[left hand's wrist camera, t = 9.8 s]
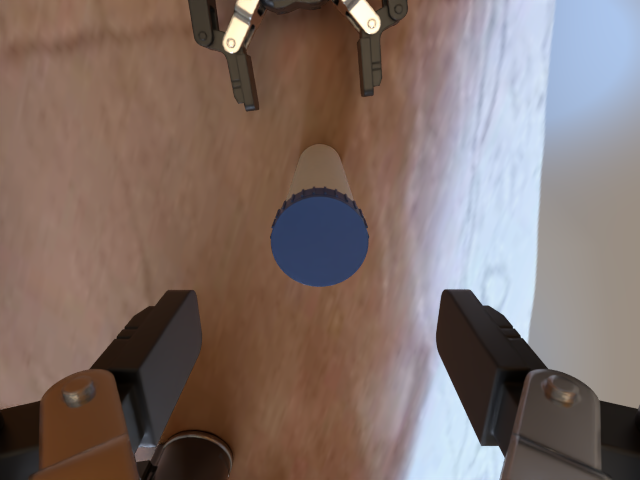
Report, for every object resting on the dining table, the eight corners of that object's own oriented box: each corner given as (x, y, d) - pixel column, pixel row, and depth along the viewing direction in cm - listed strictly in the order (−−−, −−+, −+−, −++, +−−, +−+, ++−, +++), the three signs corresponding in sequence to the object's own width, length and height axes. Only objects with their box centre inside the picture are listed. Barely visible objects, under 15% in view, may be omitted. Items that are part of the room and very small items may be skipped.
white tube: (291, 152, 35) (261, 215, 17) (332, 137, 34) (347, 184, 16) (307, 193, 36) (294, 290, 18) (347, 178, 36) (374, 264, 18)
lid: (258, 204, 18) (252, 215, 16) (348, 171, 17) (351, 179, 16) (293, 283, 20) (291, 300, 18) (377, 256, 19) (382, 270, 17)
